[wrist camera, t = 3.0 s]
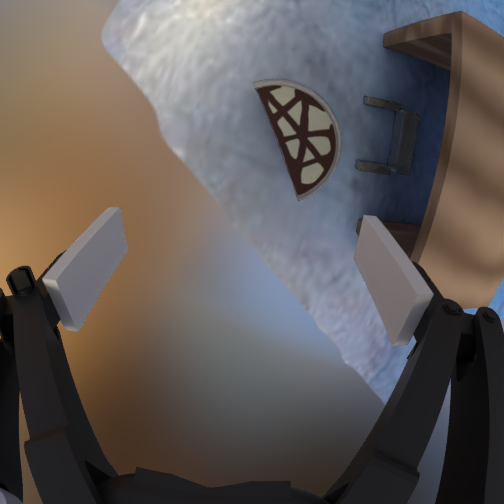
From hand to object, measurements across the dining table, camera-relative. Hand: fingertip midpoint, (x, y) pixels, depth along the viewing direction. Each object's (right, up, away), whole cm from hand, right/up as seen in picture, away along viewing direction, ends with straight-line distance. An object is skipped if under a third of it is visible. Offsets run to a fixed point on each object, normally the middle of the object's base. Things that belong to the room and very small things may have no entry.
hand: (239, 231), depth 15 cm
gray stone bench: (+17, +14, +17) cm, 28 cm away
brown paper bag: (+23, +13, +17) cm, 32 cm away
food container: (+6, +14, +17) cm, 23 cm away
